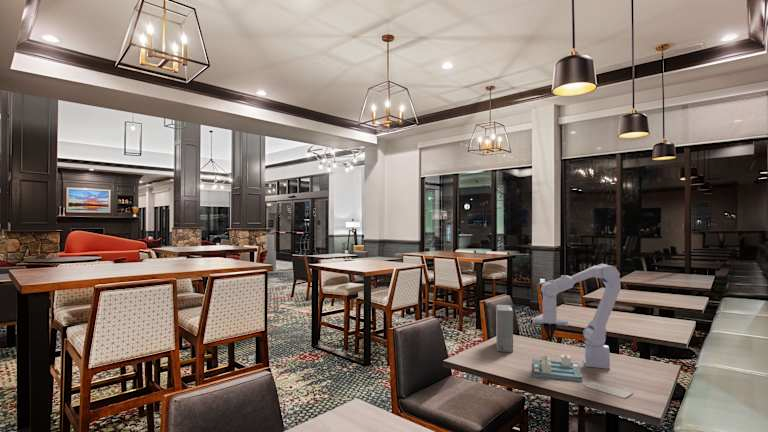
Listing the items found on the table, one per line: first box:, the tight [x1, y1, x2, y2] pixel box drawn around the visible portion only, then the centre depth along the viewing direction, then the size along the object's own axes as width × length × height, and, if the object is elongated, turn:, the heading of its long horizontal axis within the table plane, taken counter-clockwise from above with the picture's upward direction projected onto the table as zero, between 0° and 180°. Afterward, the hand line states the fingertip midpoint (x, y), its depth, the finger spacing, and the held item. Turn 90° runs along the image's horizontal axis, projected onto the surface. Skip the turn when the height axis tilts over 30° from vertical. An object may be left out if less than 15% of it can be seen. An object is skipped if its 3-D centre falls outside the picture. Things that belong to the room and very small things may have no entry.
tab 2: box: [542, 360, 551, 374], centre depth 169 cm, size 4×4×5 cm
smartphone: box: [583, 381, 634, 400], centre depth 154 cm, size 7×1×15 cm
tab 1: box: [540, 355, 552, 366], centre depth 174 cm, size 4×4×5 cm
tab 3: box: [560, 353, 572, 367], centre depth 177 cm, size 4×4×5 cm
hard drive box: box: [495, 304, 514, 353], centre depth 207 cm, size 16×8×20 cm, turn 167°
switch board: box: [532, 358, 584, 383], centre depth 173 cm, size 18×17×2 cm
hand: (550, 340), depth 183 cm, fingers closed
